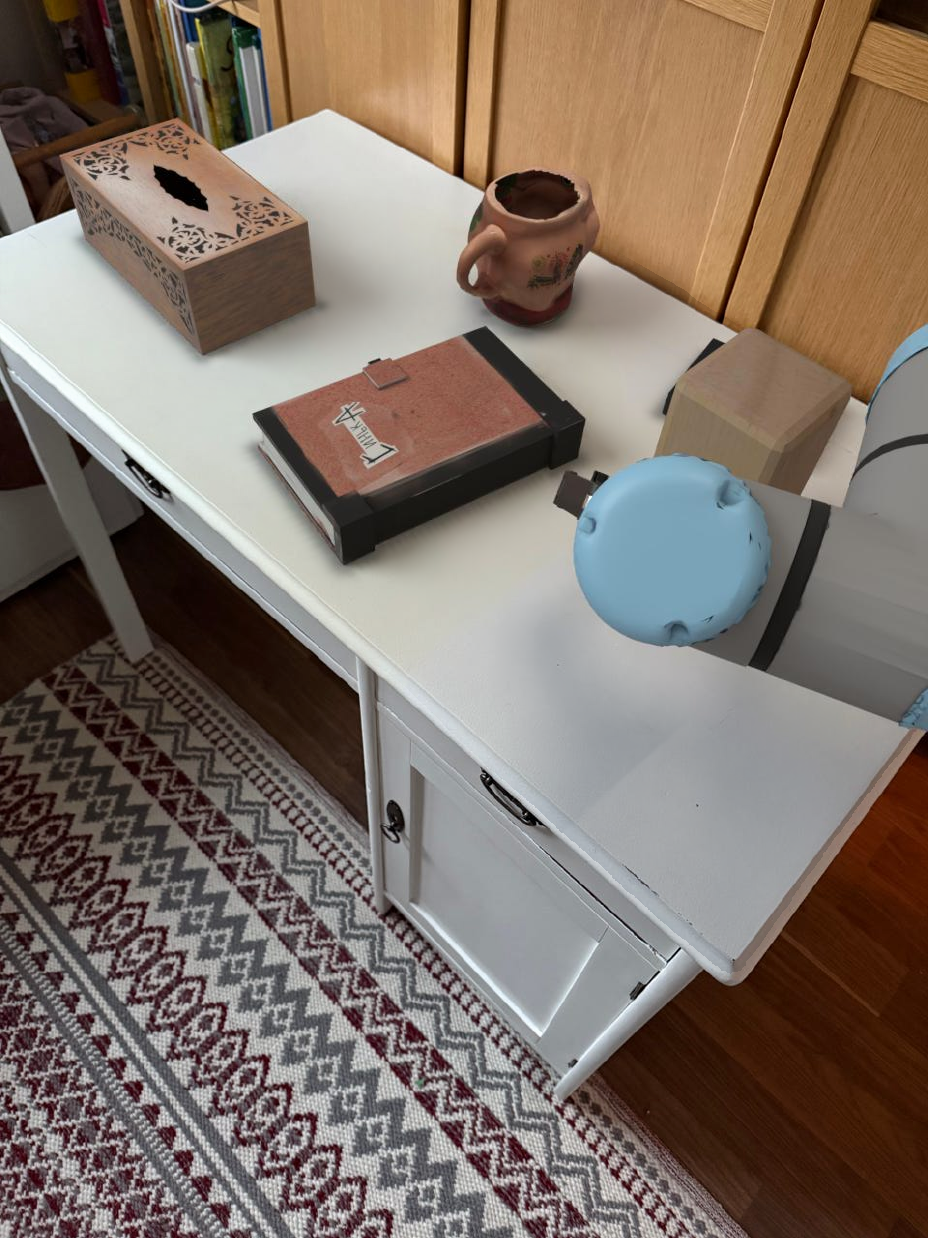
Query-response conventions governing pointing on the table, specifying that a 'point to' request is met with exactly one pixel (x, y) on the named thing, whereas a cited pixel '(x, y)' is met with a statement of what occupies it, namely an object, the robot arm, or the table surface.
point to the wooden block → (756, 411)
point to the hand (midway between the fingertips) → (700, 539)
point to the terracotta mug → (529, 243)
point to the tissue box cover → (192, 232)
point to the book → (415, 439)
